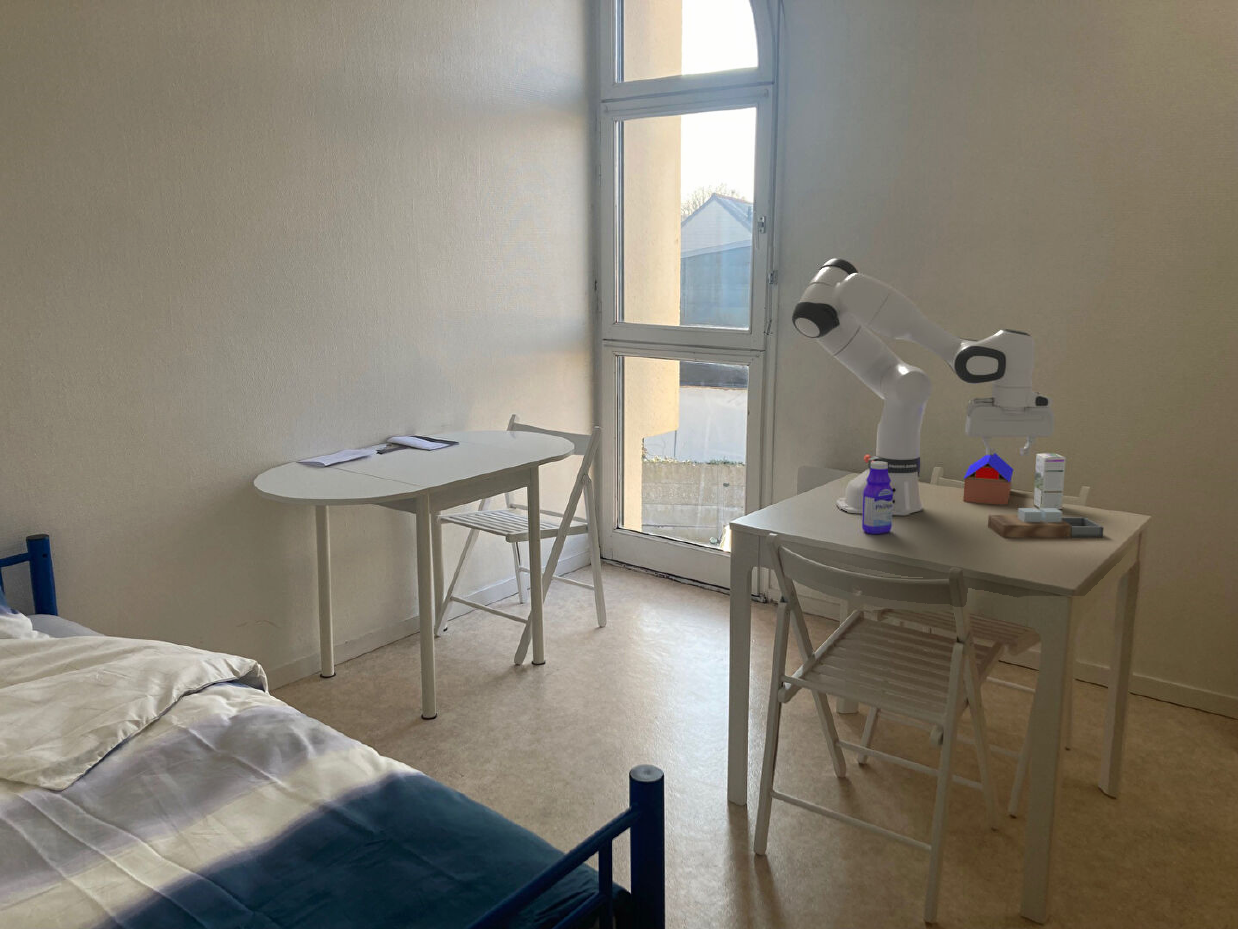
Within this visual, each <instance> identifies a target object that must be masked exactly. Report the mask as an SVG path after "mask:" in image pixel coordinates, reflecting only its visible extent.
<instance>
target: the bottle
mask: <svg viewBox="0 0 1238 929" xmlns="http://www.w3.org/2000/svg"><path fill="white" fill-rule="evenodd" d="M866 481H867V485H866V487H865V489H864V492H863V514H861V515H862V519H861V520H862V522H861V526H862V531H864V532H865V533H866V534H867V533H868V534H870V535H880V534H881V535H882V534H885V533H889V532H891V529H892V526H893V524H892V523H893V515H892V506H893V491H892V488H891V486H890V482H891V479H890V478H889V475H888V463H887V462H883V461H874V462H871V466H870V473H869V476H868V478H867V479H866Z"/></svg>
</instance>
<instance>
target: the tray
mask: <svg viewBox="0 0 1238 929" xmlns="http://www.w3.org/2000/svg"><path fill="white" fill-rule="evenodd" d="M1062 520H1063V521H1065V522H1066V523H1068V524H1070V525H1071V533H1070V537H1069V538H1103V537H1104V536H1103V535H1104V528H1105V527H1104V526H1103V525H1101V524H1098V523H1097V522H1095V521H1093V520H1091V519H1089V518H1088V517H1087V516H1084V517H1083V516H1064V517H1063V516H1062Z"/></svg>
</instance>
